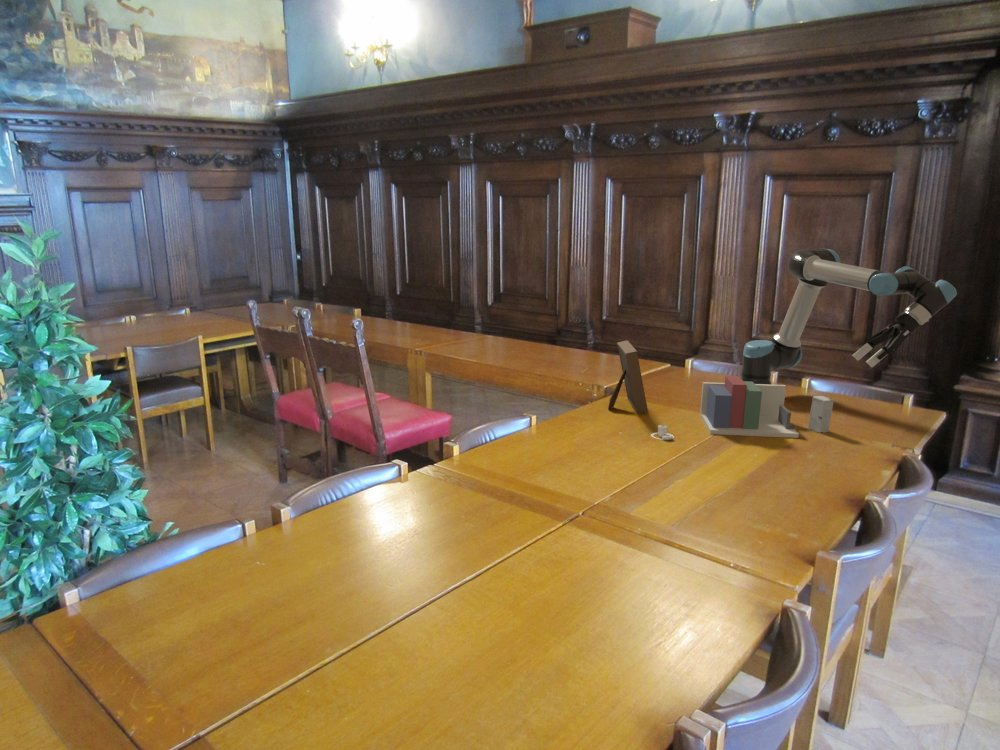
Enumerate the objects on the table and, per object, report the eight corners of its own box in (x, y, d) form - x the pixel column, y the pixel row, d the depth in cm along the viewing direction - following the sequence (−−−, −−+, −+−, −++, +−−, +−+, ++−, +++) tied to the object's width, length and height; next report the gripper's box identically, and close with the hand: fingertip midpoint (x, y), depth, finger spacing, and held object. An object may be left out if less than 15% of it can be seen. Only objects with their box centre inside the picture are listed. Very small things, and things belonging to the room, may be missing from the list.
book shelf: (700, 416, 258) (703, 372, 254) (780, 419, 255) (785, 374, 250) (710, 434, 237) (714, 386, 233) (798, 437, 234) (804, 389, 230)
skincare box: (807, 428, 245) (811, 396, 242) (817, 426, 246) (821, 395, 243) (819, 433, 239) (823, 400, 236) (830, 432, 240) (834, 399, 237)
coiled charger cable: (674, 442, 230) (675, 431, 229) (650, 441, 231) (651, 429, 230) (673, 434, 238) (674, 423, 237) (650, 433, 240) (651, 422, 239)
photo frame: (637, 398, 281) (641, 340, 275) (647, 414, 260) (651, 351, 254) (602, 398, 282) (605, 340, 276) (609, 413, 261) (612, 350, 255)
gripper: (936, 330, 218) (883, 375, 223) (904, 322, 242) (856, 362, 248) (920, 314, 218) (867, 359, 223) (890, 307, 242) (842, 348, 247)
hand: (861, 361), depth 235 cm, fingers open, 13 cm apart
